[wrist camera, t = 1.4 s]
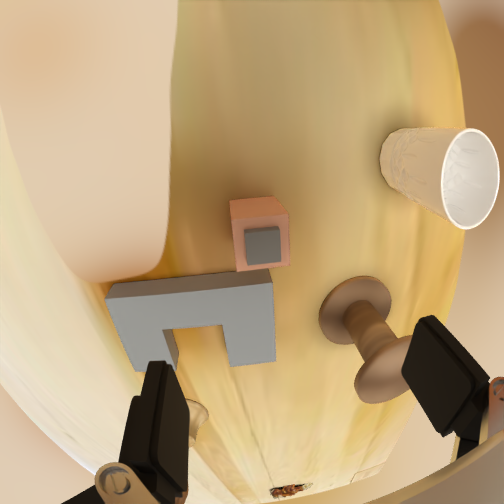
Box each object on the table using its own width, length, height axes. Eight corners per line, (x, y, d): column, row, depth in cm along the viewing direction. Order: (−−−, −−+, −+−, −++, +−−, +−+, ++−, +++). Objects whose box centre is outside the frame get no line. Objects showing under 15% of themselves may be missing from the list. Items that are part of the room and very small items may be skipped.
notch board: (267, 267, 28) (272, 282, 25) (271, 343, 32) (276, 361, 29) (113, 283, 27) (104, 298, 24) (140, 354, 31) (135, 371, 28)
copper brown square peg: (229, 200, 25) (231, 223, 19) (273, 195, 25) (291, 217, 19) (233, 242, 26) (237, 277, 20) (276, 237, 27) (292, 270, 20)
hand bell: (218, 409, 36) (223, 506, 22) (193, 431, 39) (192, 515, 24) (166, 390, 34) (155, 494, 19) (146, 414, 36) (134, 503, 22)
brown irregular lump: (311, 485, 58) (314, 494, 55) (270, 492, 58) (272, 502, 55) (312, 478, 56) (315, 489, 52) (268, 487, 55) (270, 497, 52)
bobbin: (320, 282, 29) (362, 352, 19) (392, 270, 30) (448, 326, 20) (316, 345, 33) (345, 415, 23) (380, 331, 33) (420, 390, 23)
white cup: (433, 128, 23) (502, 138, 14) (429, 198, 27) (492, 228, 17) (374, 118, 23) (443, 119, 14) (371, 197, 26) (434, 231, 17)
